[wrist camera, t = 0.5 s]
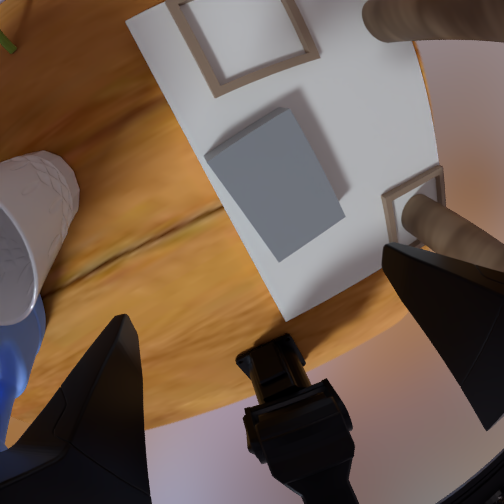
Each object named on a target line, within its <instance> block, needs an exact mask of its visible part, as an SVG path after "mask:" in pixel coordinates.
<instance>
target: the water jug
mask: <svg viewBox="0 0 504 504" xmlns="http://www.w3.org/2000/svg"><path fill="white" fill-rule="evenodd" d="M45 327H46V317H45V310H44V305H43V302H42V298H41V295H40V293H39V296H38V298H37V301H36V303H35V306H34V308H33V310H32V311H31V313H30V314H29V315H28V316H27V317H26V318H25V319H24V320H22V321H21V322H19V323H16V324H13V325H8V326H0V452H2V451H5V450H7V449H8V448H7V447H6V446H5V438H6V434H7V429H8V424H9V419H10V415H11V411H12V407H13V403H14V400H15V398H17V397H18V396H20V395H21V394H22V393H23V392H24V390H25V388H26V386H27V383H28V380H29V376H30V373H31V369H32V366H33V363H34V360H35V356H36V355H37V353H38V351H39V349H40V346H41V343H42V340H43V337H44V334H45Z"/></svg>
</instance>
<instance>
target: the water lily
mask: <svg viewBox="0 0 504 504" xmlns="http://www.w3.org/2000/svg"><path fill="white" fill-rule="evenodd" d="M4 1H5V0H0V4H1V3H2V2H4ZM0 44H1V45H2V46H3V47H4V48H5V49H6V50H7V51H8V52H9V53H10V54H12V53H13V52H14V51H15V50H16V49H17V47H16V46H15V45H14V44H13V43H12V42H11V41H10V40H9V39H8V38H7V37H6V36H5V35H4V34H3V32H2V31H1V30H0Z"/></svg>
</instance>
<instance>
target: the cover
mask: <svg viewBox="0 0 504 504" xmlns="http://www.w3.org/2000/svg"><path fill="white" fill-rule="evenodd" d="M204 158H205V160H206V162H207V164H208V165H209V166H210V168H211V169H212V170H213V172H214V173H215V174H216V176H217V177H218V179H219V180H220V181H221V183H222V184H223V185H224V187H225V188H226V190H227V191H228V192H229V194H230V195H231V196H232V198H233V199H234V201H235V202H236V203H237V205H238V206H239V207H240V209H241V210H242V212H243V213H244V214H245V216H246V217H247V219H248V220H249V221H250V223H251V224H252V226H253V227H254V228H255V230H256V231H257V233H258V234H259V235H260V237H261V238H262V240H263V241H264V242H265V244H266V245H267V247H268V248H269V249H270V251H271V252H272V254H273V255H274V256H275V258H276V259H277V261H278V262H281V261H282V260H284V259H285V258H287V257H288V256H290V255H291V254H293V253H294V252H296V251H297V250H298V249H300V248H301V247H303V246H304V245H306V244H307V243H309V242H310V241H312V240H313V239H314V238H316V237H317V236H319V235H320V234H322V233H323V232H325V231H326V230H327V229H329V228H330V227H332V226H333V225H335V224H336V223H338V222H339V221H340V220H342V219H343V218H345V217H346V216H345V214H344V212H343V210H342V208H341V206H340V203H339V201H338V199H337V197H336V195H335V193H334V191H333V189H332V187H331V185H330V183H329V181H328V179H327V177H326V175H325V173H324V171H323V169H322V167H321V165H320V163H319V161H318V159H317V157H316V155H315V153H314V151H313V149H312V148H311V146H310V144H309V142H308V140H307V138H306V136H305V135H304V133H303V131H302V129H301V127H300V126H299V124H298V122H297V120H296V119H295V117H294V115H293V113H292V112H291V110H290V108H282V107H278V108H277V109H275V110H273V111H272V112H270V113H268V114H267V115H265V116H263V117H262V118H260V119H259V120H257V121H255V122H254V123H252V124H251V125H249V126H247V127H246V128H244V129H243V130H241V131H240V132H238V133H237V134H235V135H234V136H232V137H231V138H229V139H228V140H226V141H225V142H223V143H222V144H220V145H219V146H217V147H216V148H214V149H213V150H211V151H210V152H209V153H207V154H206V155H204Z"/></svg>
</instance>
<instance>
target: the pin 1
mask: <svg viewBox="0 0 504 504" xmlns="http://www.w3.org/2000/svg"><path fill="white" fill-rule="evenodd" d="M362 19H363V22H364V25H365V27H366V28H367V30H368V31H369V32H370V34H371V35H372V36H373V37H375V38H376V39H378V40H379V41H382V42H385V43H392V42H403V41H417V40H442V39H443V40H480V41H481V40H482V41H494V42H504V0H368V1H367V2H366V3H365V4H364V5H363V8H362Z"/></svg>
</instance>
